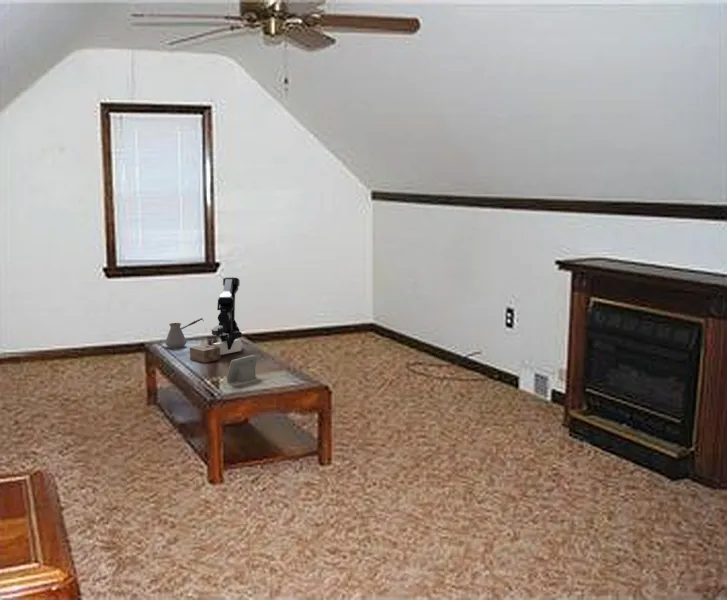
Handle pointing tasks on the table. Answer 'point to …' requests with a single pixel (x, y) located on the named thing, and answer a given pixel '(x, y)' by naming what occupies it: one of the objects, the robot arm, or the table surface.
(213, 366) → the table surface
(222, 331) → the robot arm
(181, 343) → the coffee pot
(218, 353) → the tan notched block
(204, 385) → the table surface
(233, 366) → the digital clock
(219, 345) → the white curved bar
